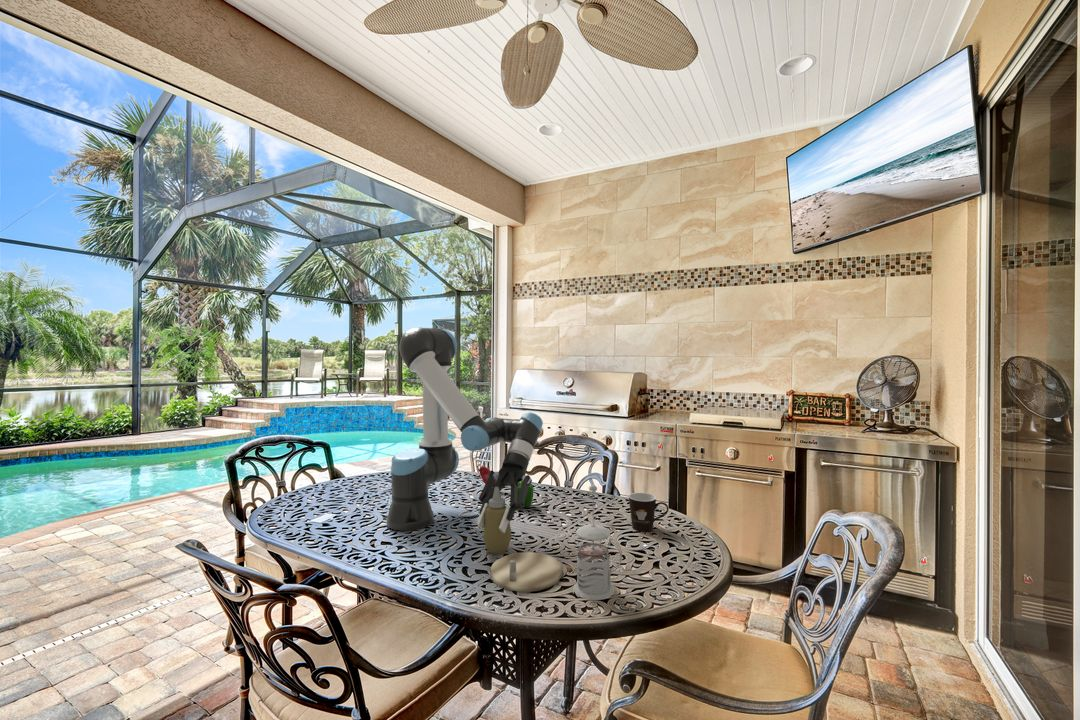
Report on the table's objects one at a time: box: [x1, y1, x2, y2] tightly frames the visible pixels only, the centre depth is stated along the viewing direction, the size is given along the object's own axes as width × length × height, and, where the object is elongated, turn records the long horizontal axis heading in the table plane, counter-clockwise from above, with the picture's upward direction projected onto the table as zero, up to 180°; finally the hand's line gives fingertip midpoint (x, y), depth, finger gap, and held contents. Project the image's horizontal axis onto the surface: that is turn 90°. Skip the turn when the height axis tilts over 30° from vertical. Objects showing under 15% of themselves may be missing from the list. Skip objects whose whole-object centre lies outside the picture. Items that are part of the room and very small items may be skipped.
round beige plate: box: [490, 551, 563, 593], centre depth 121 cm, size 18×18×6 cm
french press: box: [572, 484, 623, 601], centre depth 112 cm, size 10×12×25 cm
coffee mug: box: [628, 492, 669, 533], centre depth 149 cm, size 12×9×10 cm
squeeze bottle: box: [482, 487, 512, 555], centre depth 135 cm, size 8×8×18 cm
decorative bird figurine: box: [477, 465, 502, 487], centre depth 189 cm, size 3×18×10 cm, turn 75°
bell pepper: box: [517, 480, 534, 508], centre depth 172 cm, size 8×8×10 cm
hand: (490, 528), depth 131 cm, fingers closed on squeeze bottle, 6 cm apart
